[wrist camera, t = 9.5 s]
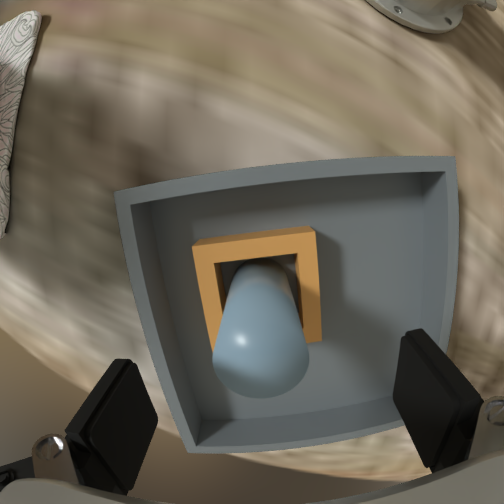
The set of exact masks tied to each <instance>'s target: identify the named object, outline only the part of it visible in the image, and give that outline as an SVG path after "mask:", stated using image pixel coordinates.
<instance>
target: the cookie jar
mask: <svg viewBox="0 0 504 504" xmlns="http://www.w3.org/2000/svg"><path fill="white" fill-rule="evenodd" d="M41 19H42V16H41V14H40V12H37V11H35V10H32V11H29V12H24V13H22V14H20V15H18V16H17V17H15V18H14V19H12V20H11V21H8V22H6V23H5V24H4V25H2V26H1V27H0V239H1V238H3V236H4V235H5V234H4V232H5V227H6V225H7V222H8V216H9V204H10V186H9V165H10V159H11V154H12V148H13V140H14V132H15V125H16V119H17V113H18V107H19V103H20V99H21V95H22V90H23V87H24V82H25V76H26V71H27V68H28V65H29V62H30V59H31V57H32V54H33V51H34V48H35V44H36V40H37V36H38V32H39V29H40V25H41ZM6 234H7V233H6Z"/></svg>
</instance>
